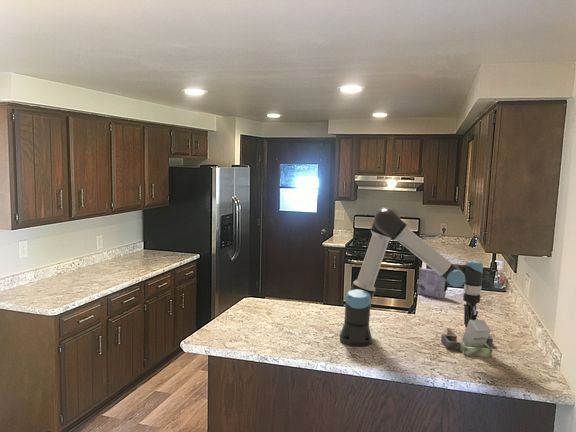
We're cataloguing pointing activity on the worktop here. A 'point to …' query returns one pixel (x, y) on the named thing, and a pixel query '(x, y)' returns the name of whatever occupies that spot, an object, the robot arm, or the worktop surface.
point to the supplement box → (476, 334)
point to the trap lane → (452, 344)
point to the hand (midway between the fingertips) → (467, 341)
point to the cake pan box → (431, 284)
